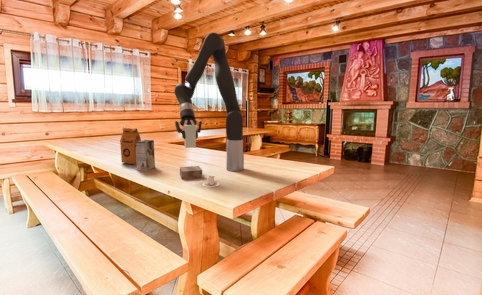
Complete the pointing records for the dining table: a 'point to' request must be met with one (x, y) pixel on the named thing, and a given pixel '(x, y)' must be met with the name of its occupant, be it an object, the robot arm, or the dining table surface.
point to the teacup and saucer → (211, 181)
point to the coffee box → (145, 154)
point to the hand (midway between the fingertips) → (190, 138)
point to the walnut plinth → (190, 172)
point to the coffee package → (129, 145)
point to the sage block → (190, 136)
